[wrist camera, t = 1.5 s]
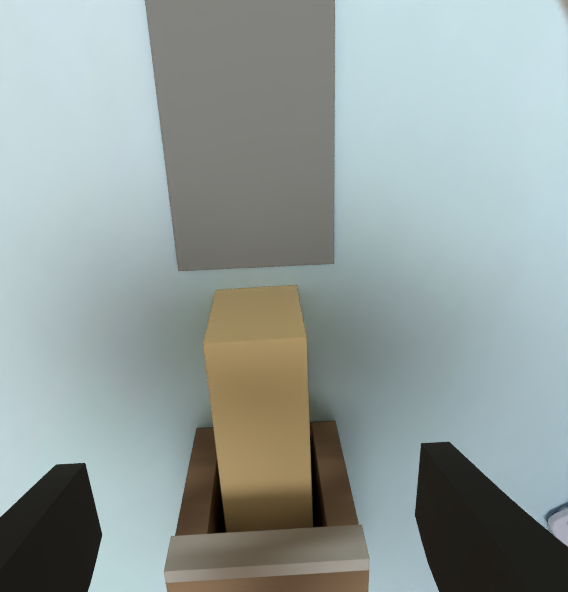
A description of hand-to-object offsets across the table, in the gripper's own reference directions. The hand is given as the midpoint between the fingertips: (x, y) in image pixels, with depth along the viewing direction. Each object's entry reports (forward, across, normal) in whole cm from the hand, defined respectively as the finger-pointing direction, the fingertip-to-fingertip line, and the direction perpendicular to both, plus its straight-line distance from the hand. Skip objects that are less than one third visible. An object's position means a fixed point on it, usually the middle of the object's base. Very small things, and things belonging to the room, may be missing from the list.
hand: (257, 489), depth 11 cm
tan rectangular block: (+9, 0, +5) cm, 10 cm away
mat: (+9, 0, -7) cm, 11 cm away
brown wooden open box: (+9, 0, +9) cm, 12 cm away
